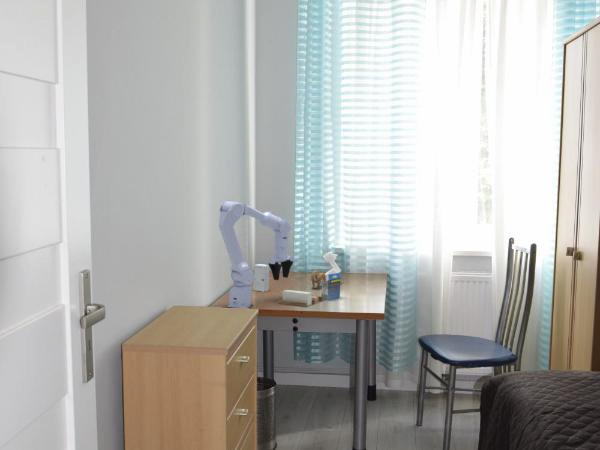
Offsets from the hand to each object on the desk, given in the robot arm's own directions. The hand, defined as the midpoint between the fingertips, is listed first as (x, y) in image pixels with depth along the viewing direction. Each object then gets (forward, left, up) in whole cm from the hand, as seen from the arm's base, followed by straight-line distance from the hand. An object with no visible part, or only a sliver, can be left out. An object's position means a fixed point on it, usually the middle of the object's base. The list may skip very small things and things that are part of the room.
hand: (280, 278), depth 310 cm
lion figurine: (+39, +1, -10) cm, 40 cm away
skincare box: (+17, +20, -10) cm, 29 cm away
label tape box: (+13, -18, -10) cm, 24 cm away
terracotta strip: (+3, -11, -9) cm, 14 cm away
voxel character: (+52, +1, -10) cm, 53 cm away
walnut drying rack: (-1, -11, -10) cm, 14 cm away
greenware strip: (-5, -11, -9) cm, 15 cm away
